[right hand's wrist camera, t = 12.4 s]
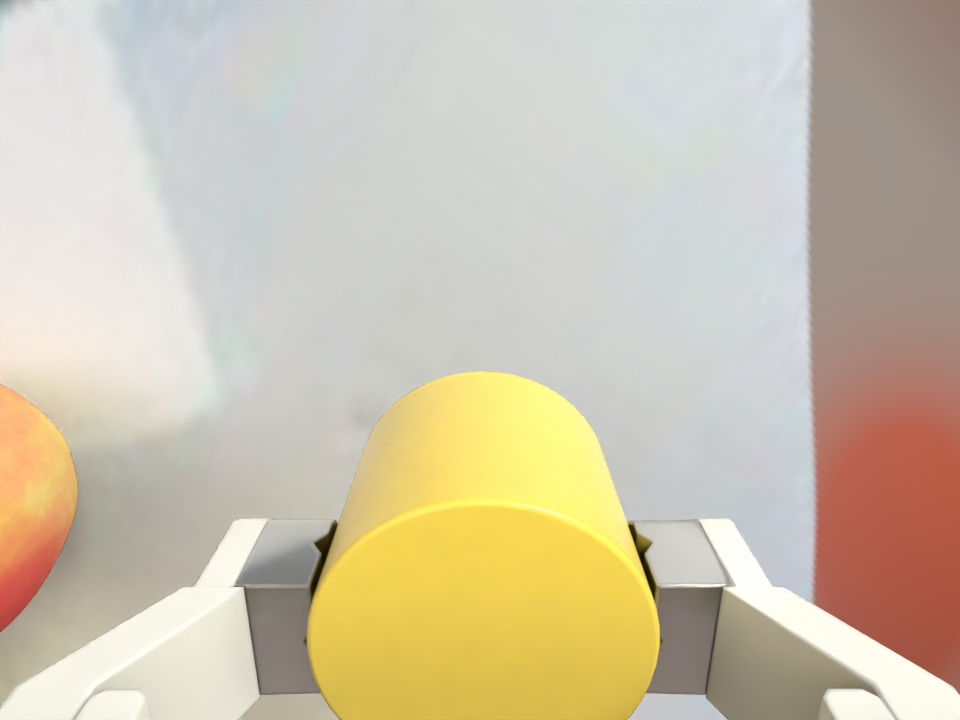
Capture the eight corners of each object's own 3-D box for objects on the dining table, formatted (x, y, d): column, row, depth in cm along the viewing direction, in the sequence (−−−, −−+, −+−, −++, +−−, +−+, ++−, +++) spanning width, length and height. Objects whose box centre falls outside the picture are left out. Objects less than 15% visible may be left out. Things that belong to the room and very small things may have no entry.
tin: (548, 611, 13) (575, 814, 9) (329, 544, 13) (266, 730, 9) (647, 419, 12) (725, 568, 8) (404, 333, 11) (365, 450, 7)
